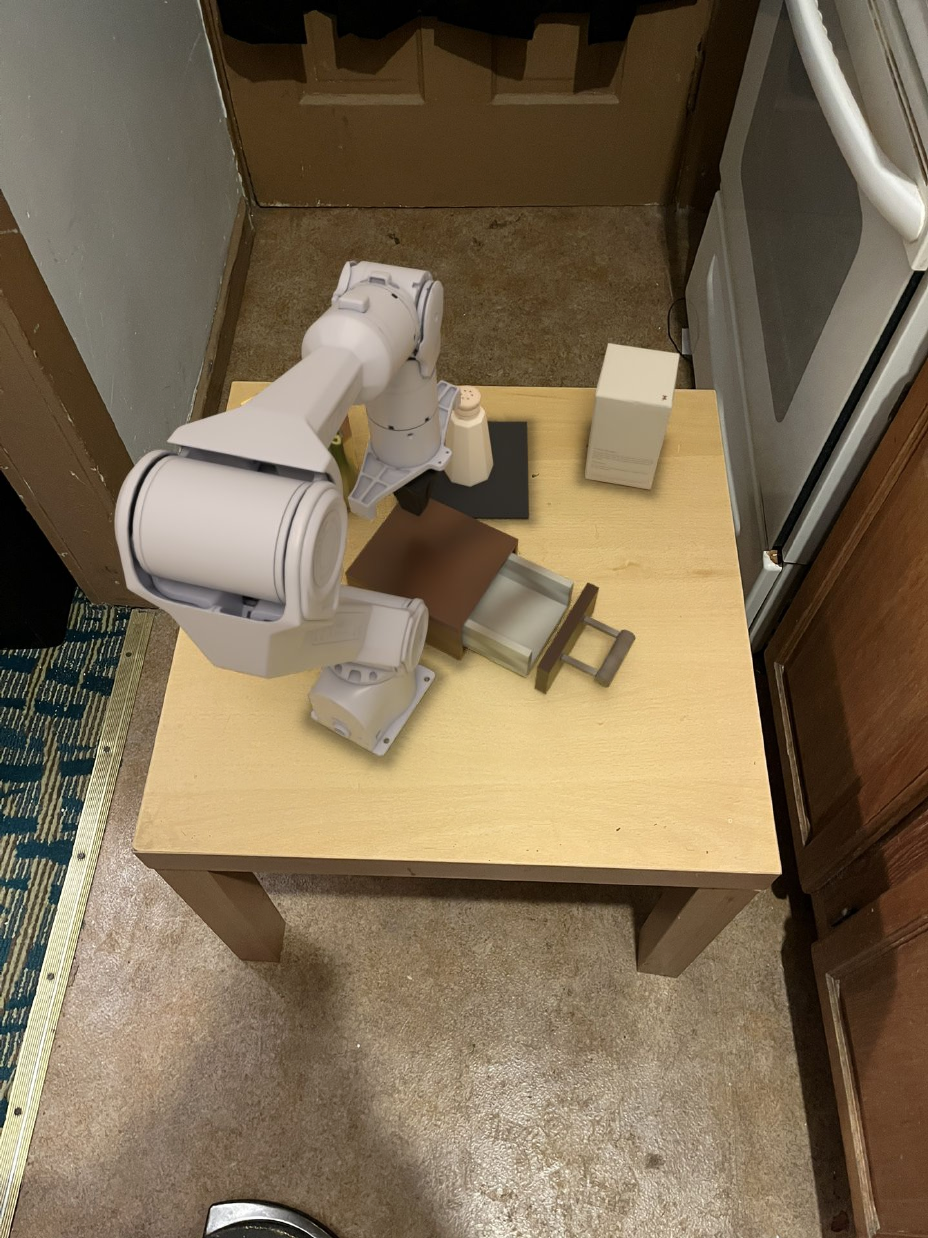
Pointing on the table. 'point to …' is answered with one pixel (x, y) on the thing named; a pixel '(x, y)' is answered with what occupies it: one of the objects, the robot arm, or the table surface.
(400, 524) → the cabinet
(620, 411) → the white packaging box
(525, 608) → the drawer
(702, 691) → the table surface
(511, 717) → the table surface
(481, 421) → the pepper shaker
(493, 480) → the mat
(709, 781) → the table surface
